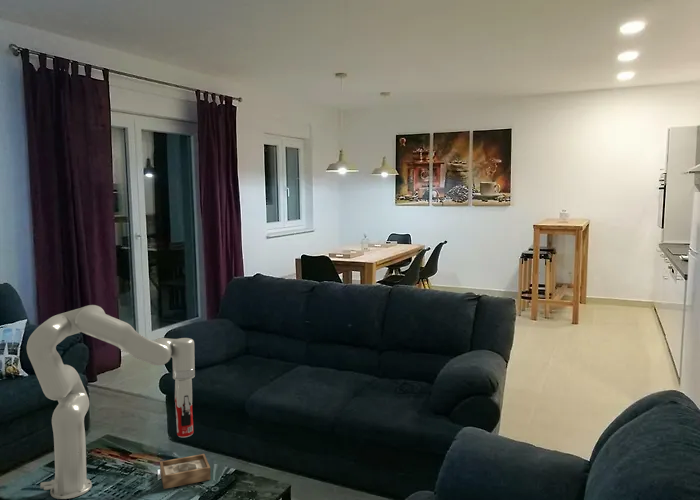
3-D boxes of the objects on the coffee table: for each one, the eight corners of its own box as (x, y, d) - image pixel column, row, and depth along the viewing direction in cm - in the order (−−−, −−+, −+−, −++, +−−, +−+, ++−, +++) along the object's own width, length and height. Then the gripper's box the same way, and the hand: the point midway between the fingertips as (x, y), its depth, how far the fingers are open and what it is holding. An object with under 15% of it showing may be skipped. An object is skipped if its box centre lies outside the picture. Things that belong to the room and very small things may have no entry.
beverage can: (195, 431, 198) (195, 391, 197) (189, 439, 192) (188, 397, 190) (180, 430, 198) (179, 391, 197) (172, 438, 192) (172, 397, 191)
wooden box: (163, 488, 187) (163, 476, 187) (160, 473, 198) (159, 461, 198) (210, 479, 194) (210, 467, 194) (204, 465, 205) (204, 453, 204)
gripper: (169, 367, 199) (170, 415, 201) (176, 381, 184) (177, 432, 185) (190, 365, 202) (191, 412, 204) (198, 378, 187) (199, 429, 188)
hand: (184, 421), depth 194 cm, fingers closed on beverage can, 5 cm apart
